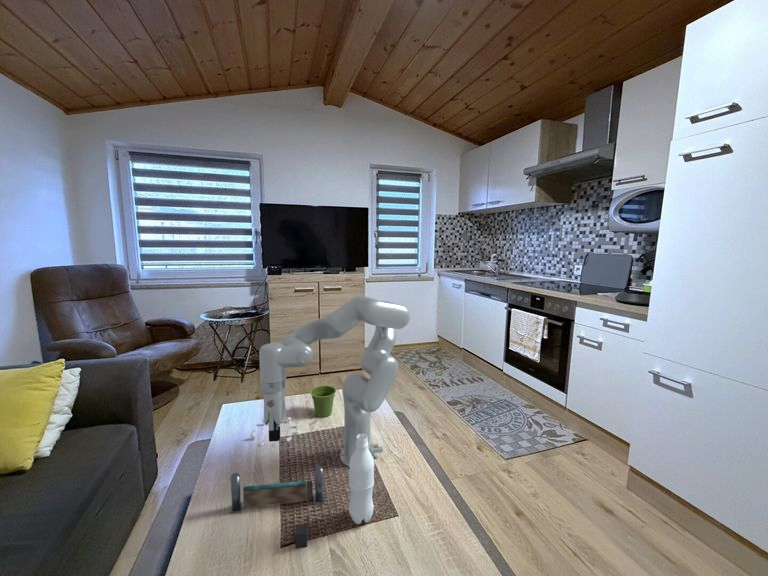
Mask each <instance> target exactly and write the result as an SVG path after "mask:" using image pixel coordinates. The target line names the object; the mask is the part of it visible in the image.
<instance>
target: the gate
mask: <svg viewBox="0 0 768 576" xmlns="http://www.w3.org/2000/svg"><path fill="white" fill-rule="evenodd" d="M242 495H243V499H242V500H243V501H242V502H244V505H243V508H251V507H262V506H271V505H280V504H290V503H298V502H299V503H300V502H306V501H311V500H313V499H314V495H313V481H312V480H311V479H310V480H309V479H308V481H307V480H300V481H298V480H297V481H290V482H279V483H276V482H275V483H268V484H267V483H266V484H258V485H257V484H256V485H247V486H243V490H242Z"/></svg>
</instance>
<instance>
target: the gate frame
mask: <svg viewBox="0 0 768 576" xmlns="http://www.w3.org/2000/svg"><path fill="white" fill-rule="evenodd" d="M314 478H315V479H314V491H315V493H314V495H313V506H314V505H323V504H325V498H326V497H325V493H324V466H322V465H317V466H315V467H314ZM230 488H231V489H230V490H231V491H230V492H231V506H230V510H229V511H228V513H229V515H230V514H239V513H242V510H243V508H244V501H242V499H241V498H242V497H241V475H240V473H239V472H236V473H233V474H231V475H230ZM294 534H295V535H294V540H295V542H294V543H295V544H294V545H295V549H301V548H308V546H309V545H308V542H309V523H308V522H307V523H299V524H296V526H295V533H294Z"/></svg>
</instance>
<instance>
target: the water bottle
mask: <svg viewBox="0 0 768 576" xmlns="http://www.w3.org/2000/svg"><path fill="white" fill-rule="evenodd" d="M348 467H349V471H348V472H349V478H348V479H349V480H348V487H349V490H350V498H349V504H348V513H349V514H348V515H349V517H350V518H351V519H352V521H353V523H355V524H357V525H360V524H362V521H363V522H364V523H365V524H366V523H368V522H370V520H371V519H372V517H373V514H374V507H375V505H374V502H373V491H374V486H375V478H374V477H375V475H374V474H375V461H374V459H373V457H372V455H371V453H370V451H369V449H368V441H367V435H366V434H358V435H357V441H356V449H355V451H354V453H353V454H352V456H351V458H350V462H349V466H348Z"/></svg>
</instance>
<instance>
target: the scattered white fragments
mask: <svg viewBox="0 0 768 576" xmlns="http://www.w3.org/2000/svg"><path fill="white" fill-rule="evenodd" d="M286 419H287V422H286V423H287V424H290V423H292V421H291V420H292V417H286ZM262 426H266V425H265V423H264V418H263V419H262ZM299 426H300V421H297V422H296V423H295V424H294V425H293V427H294V428H297V429H296V430H295V435H296V436H298V435H300V434H301V432H300V429H298V427H299ZM254 428H255V430H254V431H253V432H252V433H251V434H250V438H252V441H255V440H256V439H257V435H256V434H257V427H254ZM292 435H293V432H291V433H290V435H289V436H288V437H286V438H285V442H290V441H292V439H293V436H292ZM266 438H267V436H264V439H263V441H262V443H261V442H260V443H259V446H260V447H263V446H264V445H265V443H264V442H265V439H266ZM278 446H279V443H278V442H277V441H274V443H272V447H274V448H276V447H277V448H278Z"/></svg>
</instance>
